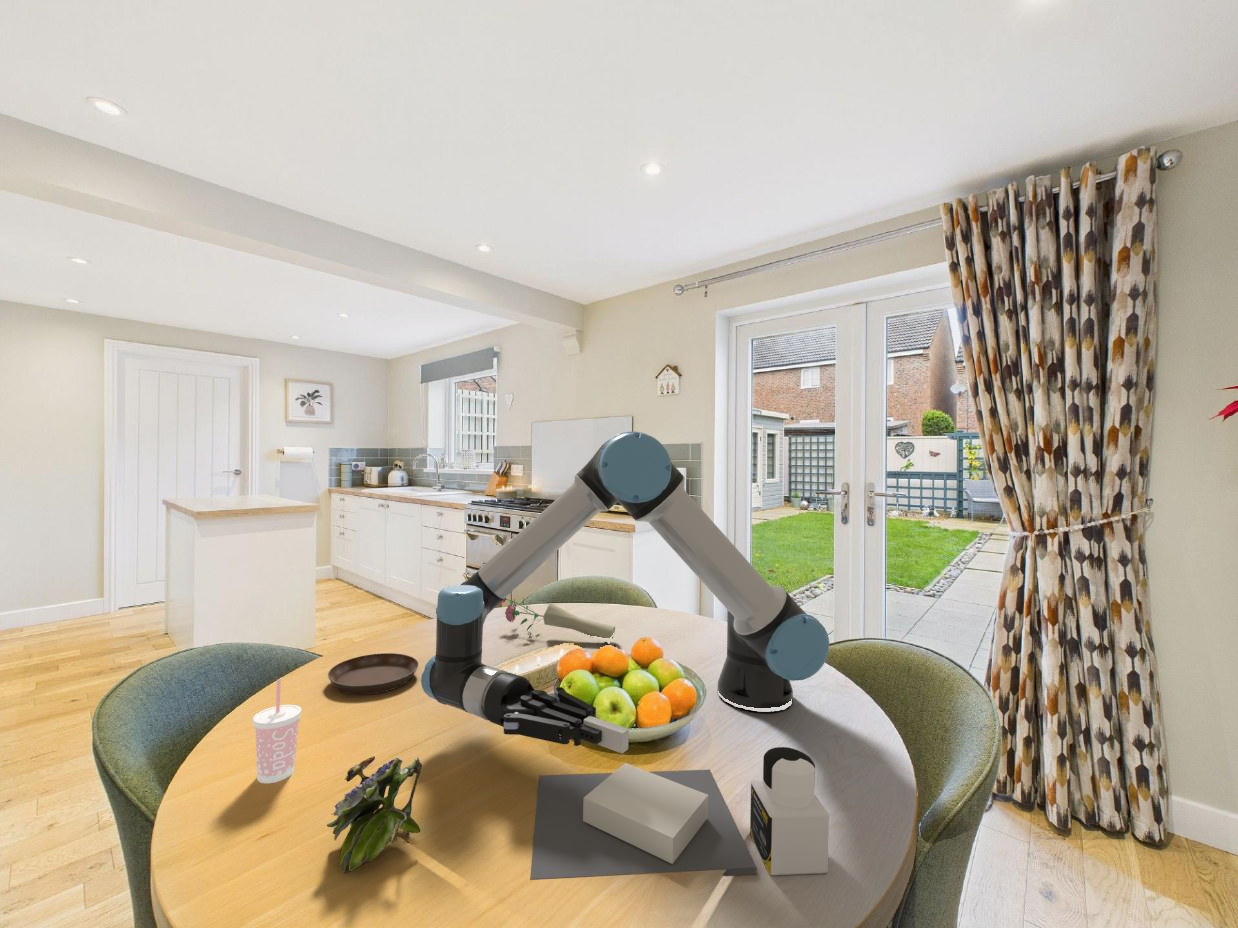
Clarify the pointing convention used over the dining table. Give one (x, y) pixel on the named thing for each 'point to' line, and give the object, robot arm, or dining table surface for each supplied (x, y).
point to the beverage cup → (276, 740)
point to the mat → (593, 852)
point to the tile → (646, 811)
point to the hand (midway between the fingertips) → (625, 740)
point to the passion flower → (373, 811)
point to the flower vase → (562, 620)
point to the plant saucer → (373, 673)
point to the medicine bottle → (789, 815)
